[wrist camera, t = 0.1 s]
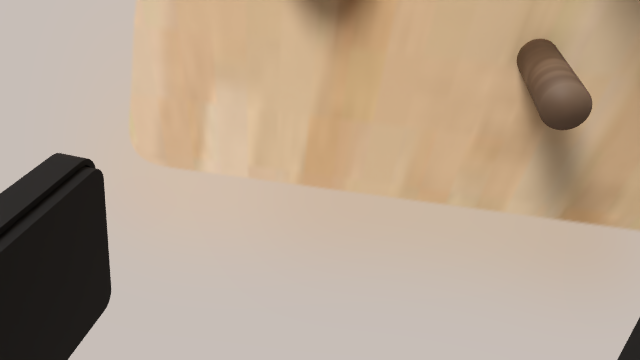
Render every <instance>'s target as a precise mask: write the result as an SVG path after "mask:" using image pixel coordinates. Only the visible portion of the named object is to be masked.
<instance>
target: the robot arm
mask: <svg viewBox="0 0 640 360" xmlns="http://www.w3.org/2000/svg"><path fill="white" fill-rule="evenodd" d="M110 295H111V280H110V266H109V251H108V236H107V221H106V207H105V192H104V178H103V174H102V172H101V171H100V170H99V169H95V165H94V163H93V161H91V160H90V159H86V158H80V157H76V156H71V155H66V154H61V153H56V154H54V155H52V156H51V157H49V158H48V159H47V160H45V161H44V162H42V163H41V164H40V165H38V166H37V167H36V168H34V169H33V170H32V171H30V172H29V173H28V174H26V175H25V176H23V177H22V178H21V179H19V180H18V181H17V182H15V183H14V184H13V185H11V186H10V187H9V188H7V189H6V190H5V191H3V192H2V193H0V360H68V358H69V357H70V356H71V354H72V353H73V352H74V350H75V349H76V348H77V346H78V345H79V344H80V342H81V341H82V340H83V338H84V337H85V336H86V334H87V333H88V332H89V330H90V329H91V328H92V326H93V325H94V324H95V322H96V321H97V319H98V318H99V317H100V316H101V314H102V313H103V312H104V310H105V309H106V307H107V305H108V303H109V299H110ZM618 360H640V318H639V320H638V322H637V324H636V326H635V328H634V329H633V331H632V333H631V335H630V337H629V339H628V341H627V343H626V344H625V346H624V348H623V350H622V352H621V354H620V356H619V358H618Z"/></svg>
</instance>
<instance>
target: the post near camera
mask: <svg viewBox="0 0 640 360" xmlns="http://www.w3.org/2000/svg"><path fill="white" fill-rule="evenodd" d="M517 65H518V68H519V70H520V72H521V74H522V77H523V79H524V81H525V83H526V86H527V88H528V90H529V92H530V95H531V97H532V99H533V101H534V104H535V106H536V108H537V110H538V112H539V115H540V117H541V119H542V121H543V122H544V123H545V124H546V125H547V126H549V127H551V128H553V129H557V130H568V129H572V128H575V127H577V126H579V125H580V124H581V123H583V122H584V121H585V120H586V119H587V117H588V116H589V114H590V112H591V109H592V98H591V96H590V94H589V92H588V91H587V89H586V88H585V87H584V85H583V84H582V82H581V81H580V80H579V78H578V77H577V75H576V74H575V73H574V71H573V70H572V68H571V67H570V66H569V64H568V63H567V61H566V60H565V59H564V57H563V56H562V54H561V53H560V52H559V50H558V49H557V48H556V46H555V45H554V44H553V43H552V42H550V41H548V40H545V39H535V40H532V41H530V42H528V43H526V44H525V45H524V46H523V47H522V48H521V50H520V51H519V53H518V56H517Z"/></svg>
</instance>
